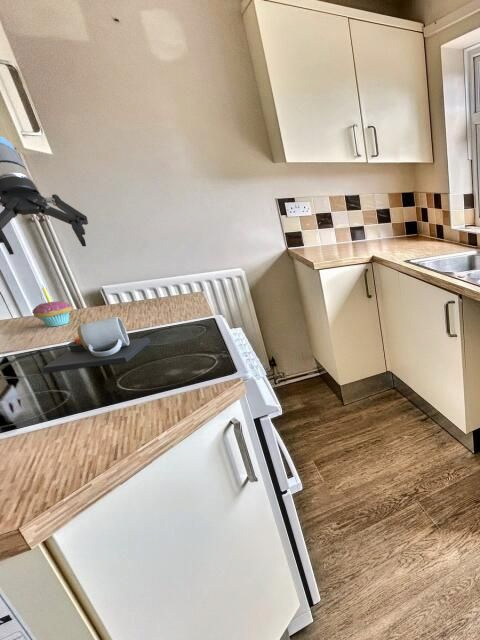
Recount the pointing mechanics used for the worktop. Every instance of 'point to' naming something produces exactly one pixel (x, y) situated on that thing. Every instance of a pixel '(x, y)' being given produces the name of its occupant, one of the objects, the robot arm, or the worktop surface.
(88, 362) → the scale
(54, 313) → the cupcake
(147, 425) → the worktop surface
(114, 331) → the ceramic mug
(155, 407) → the worktop surface
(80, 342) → the button
